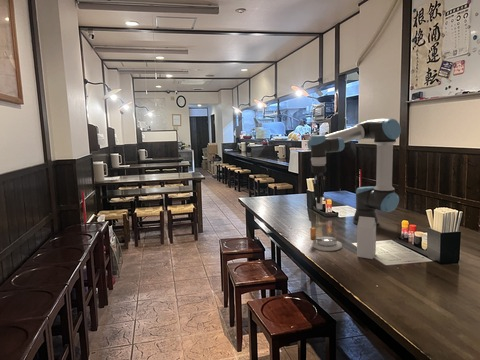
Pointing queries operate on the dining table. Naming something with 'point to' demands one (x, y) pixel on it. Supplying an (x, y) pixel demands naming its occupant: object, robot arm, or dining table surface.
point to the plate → (323, 248)
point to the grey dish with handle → (322, 239)
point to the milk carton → (366, 237)
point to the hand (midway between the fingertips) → (319, 208)
